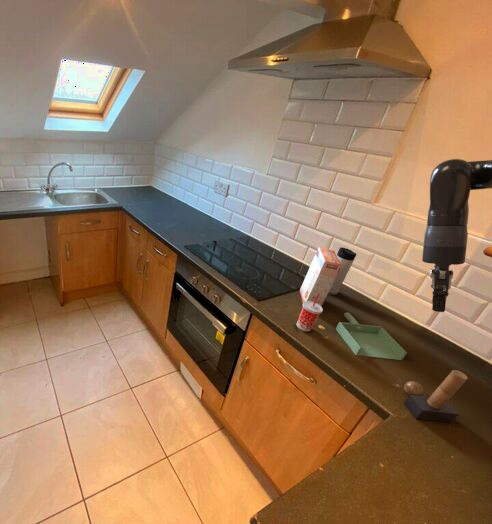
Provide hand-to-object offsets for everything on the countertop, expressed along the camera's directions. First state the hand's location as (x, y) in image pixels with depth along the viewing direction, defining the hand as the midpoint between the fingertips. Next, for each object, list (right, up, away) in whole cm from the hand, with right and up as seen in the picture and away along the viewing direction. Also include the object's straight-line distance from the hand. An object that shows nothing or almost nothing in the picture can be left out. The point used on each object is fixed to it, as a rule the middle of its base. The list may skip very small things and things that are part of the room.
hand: (438, 307), depth 76 cm
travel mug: (+5, -1, +53) cm, 53 cm away
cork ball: (-1, -23, +6) cm, 24 cm away
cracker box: (-8, -4, +44) cm, 45 cm away
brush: (-1, -28, +2) cm, 28 cm away
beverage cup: (-19, -11, +29) cm, 36 cm away
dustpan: (0, -14, +28) cm, 31 cm away
